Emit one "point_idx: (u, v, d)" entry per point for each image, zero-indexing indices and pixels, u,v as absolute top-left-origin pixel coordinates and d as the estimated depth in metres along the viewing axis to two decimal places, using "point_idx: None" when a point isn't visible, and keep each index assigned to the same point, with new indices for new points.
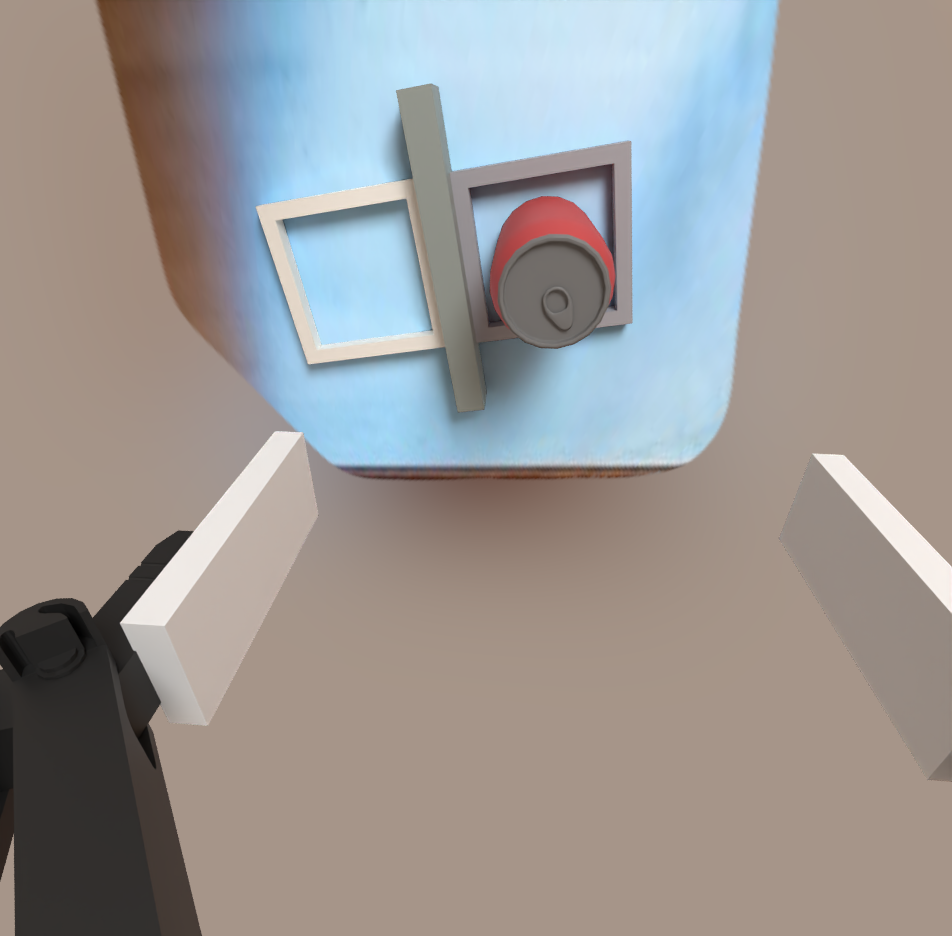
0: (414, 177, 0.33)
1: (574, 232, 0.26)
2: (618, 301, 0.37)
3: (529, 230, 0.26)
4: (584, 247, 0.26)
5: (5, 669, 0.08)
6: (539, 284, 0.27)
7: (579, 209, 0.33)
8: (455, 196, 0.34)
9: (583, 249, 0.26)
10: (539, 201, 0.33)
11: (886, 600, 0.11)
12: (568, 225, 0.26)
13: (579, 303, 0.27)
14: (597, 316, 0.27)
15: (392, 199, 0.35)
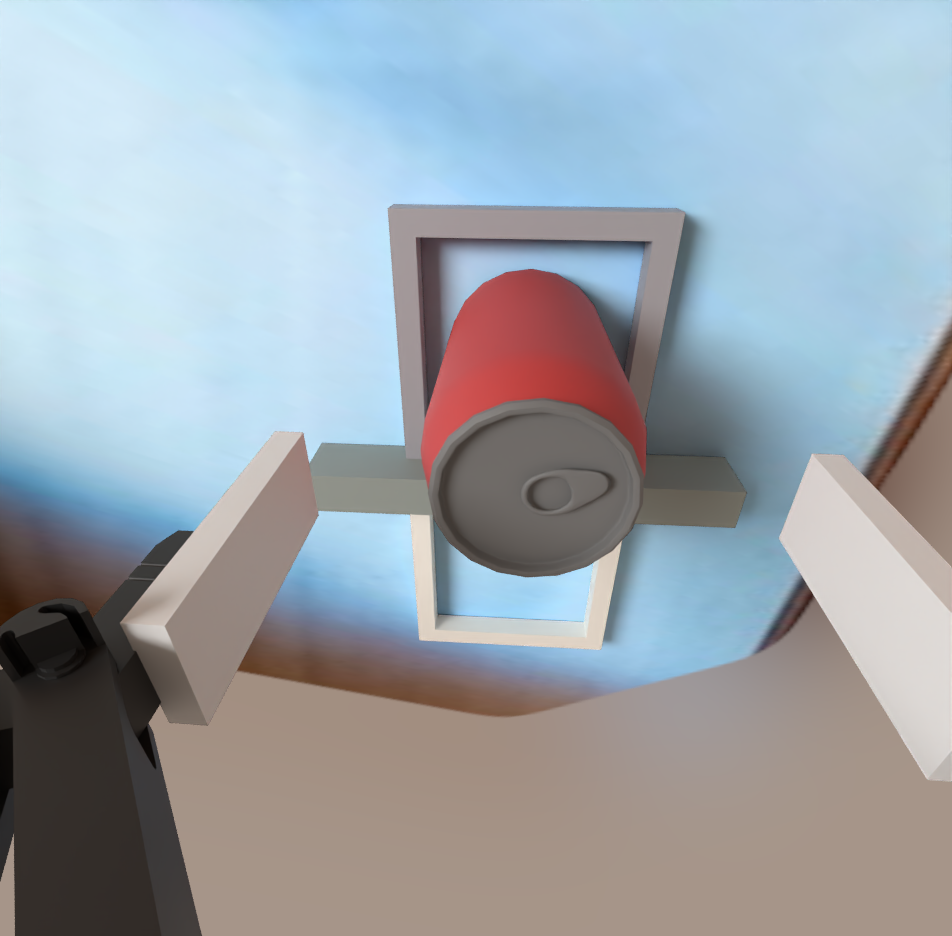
0: (399, 512, 0.26)
1: (437, 439, 0.14)
2: (636, 238, 0.20)
3: None
4: (456, 444, 0.13)
5: (5, 669, 0.08)
6: (513, 511, 0.15)
7: (468, 306, 0.21)
8: None
9: (460, 441, 0.13)
10: None
11: (886, 600, 0.11)
12: (429, 438, 0.15)
13: (564, 453, 0.14)
14: (597, 430, 0.13)
15: (428, 523, 0.28)
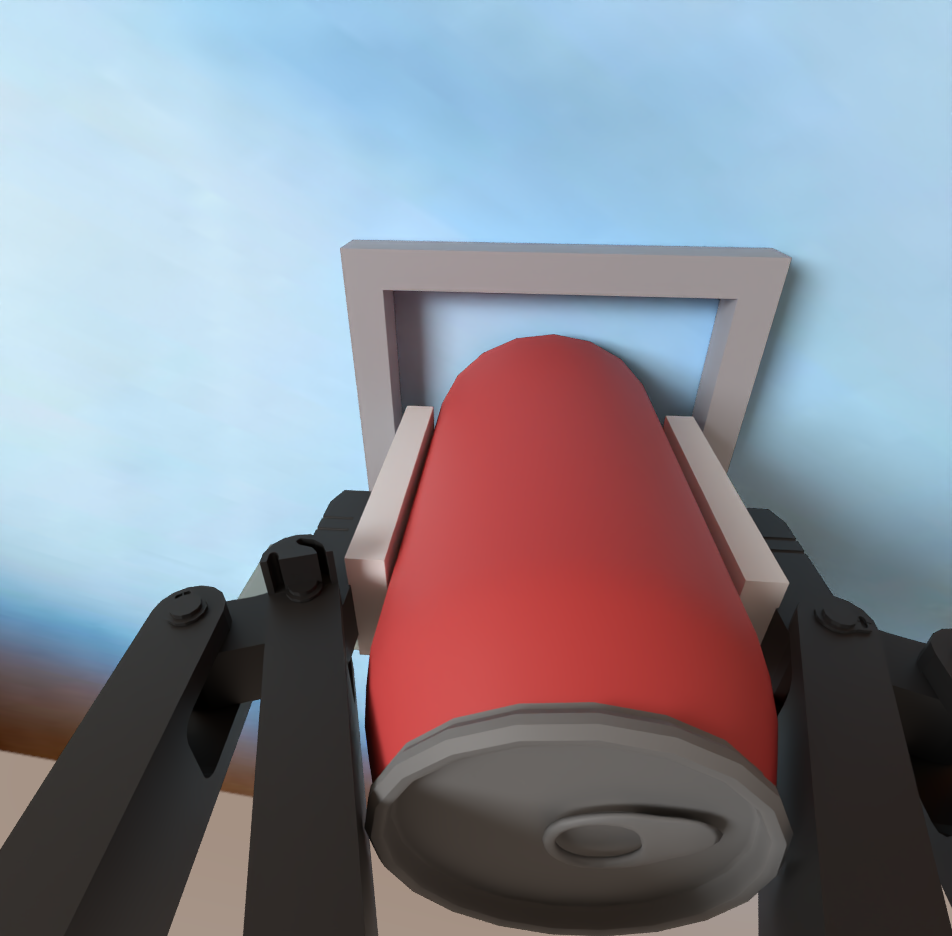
0: None
1: (383, 724, 0.07)
2: (712, 294, 0.14)
3: None
4: (413, 779, 0.06)
5: (266, 583, 0.09)
6: (527, 847, 0.08)
7: (460, 391, 0.14)
8: None
9: (423, 766, 0.07)
10: None
11: None
12: (372, 707, 0.08)
13: (630, 784, 0.07)
14: (708, 771, 0.06)
15: None
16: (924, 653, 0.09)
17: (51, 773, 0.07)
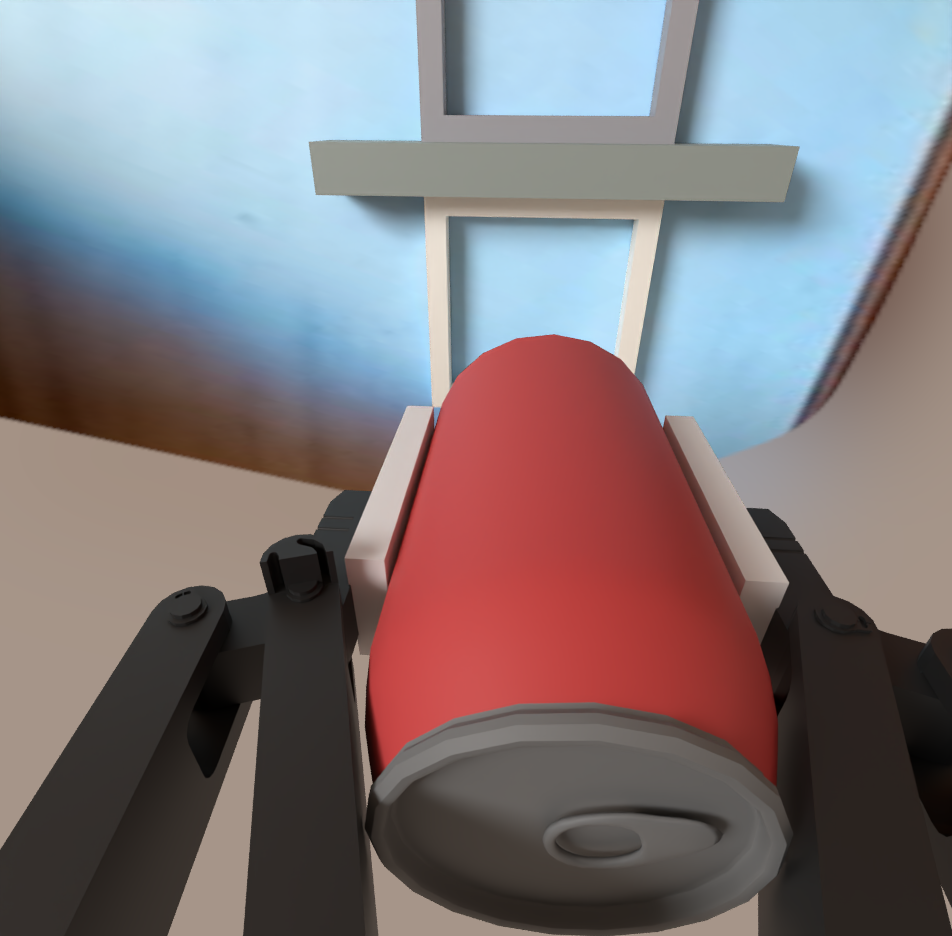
0: (413, 193, 0.24)
1: (383, 724, 0.07)
2: None
3: None
4: (413, 779, 0.06)
5: (266, 583, 0.09)
6: (528, 847, 0.08)
7: (460, 391, 0.14)
8: (452, 138, 0.24)
9: (423, 767, 0.07)
10: None
11: None
12: (372, 708, 0.08)
13: (630, 784, 0.07)
14: (708, 771, 0.06)
15: (444, 236, 0.26)
16: (924, 653, 0.09)
17: (52, 773, 0.07)
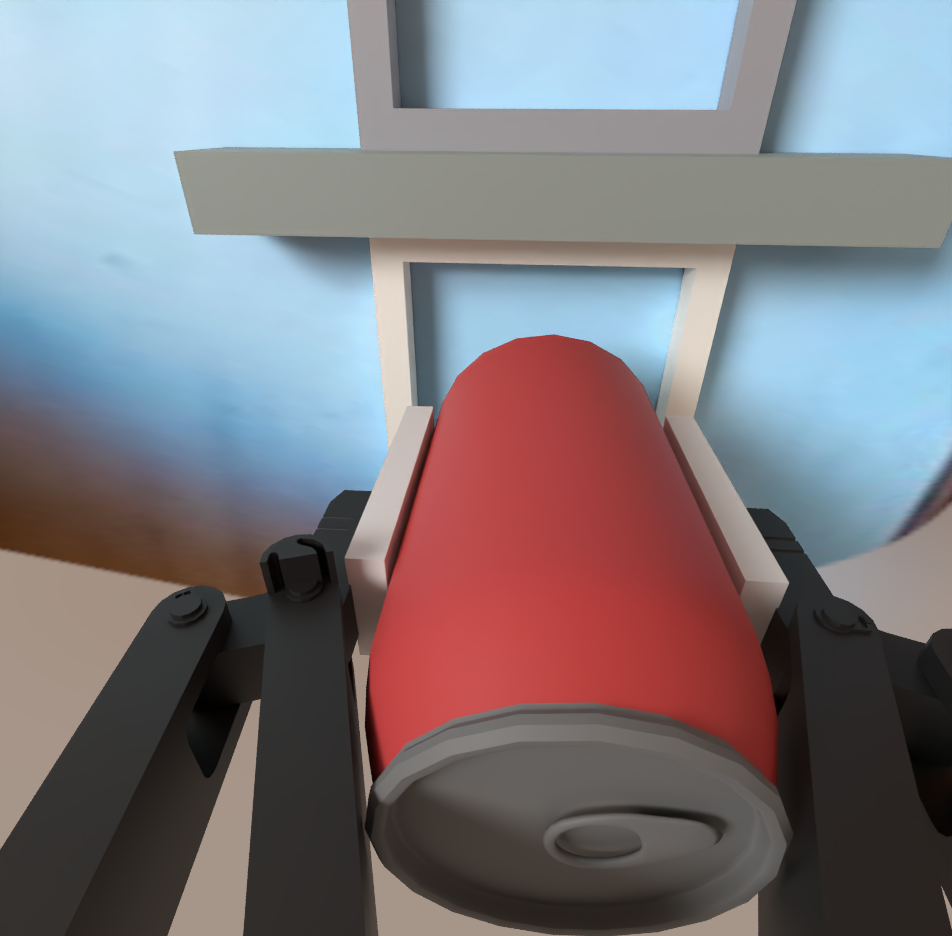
0: (346, 233, 0.15)
1: (384, 724, 0.07)
2: None
3: None
4: (413, 780, 0.06)
5: (266, 583, 0.09)
6: (528, 847, 0.08)
7: (460, 391, 0.14)
8: (408, 145, 0.15)
9: (424, 767, 0.07)
10: None
11: None
12: (372, 708, 0.08)
13: (630, 784, 0.07)
14: (709, 772, 0.06)
15: (402, 291, 0.17)
16: (924, 653, 0.09)
17: (52, 773, 0.07)
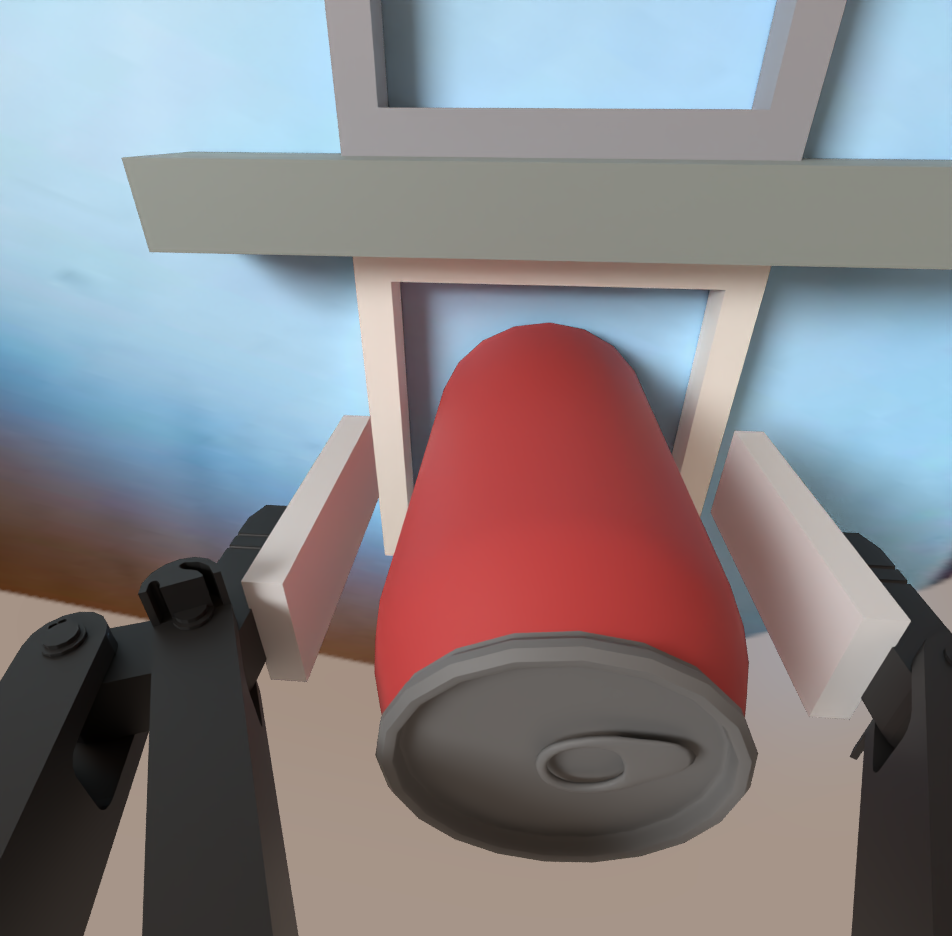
0: (324, 251, 0.13)
1: (393, 661, 0.08)
2: None
3: None
4: (421, 702, 0.07)
5: (148, 615, 0.09)
6: (522, 775, 0.09)
7: (461, 376, 0.15)
8: (395, 150, 0.13)
9: (429, 693, 0.07)
10: None
11: (783, 559, 0.12)
12: (382, 650, 0.09)
13: (613, 710, 0.08)
14: (680, 692, 0.07)
15: (390, 314, 0.15)
16: None
17: None
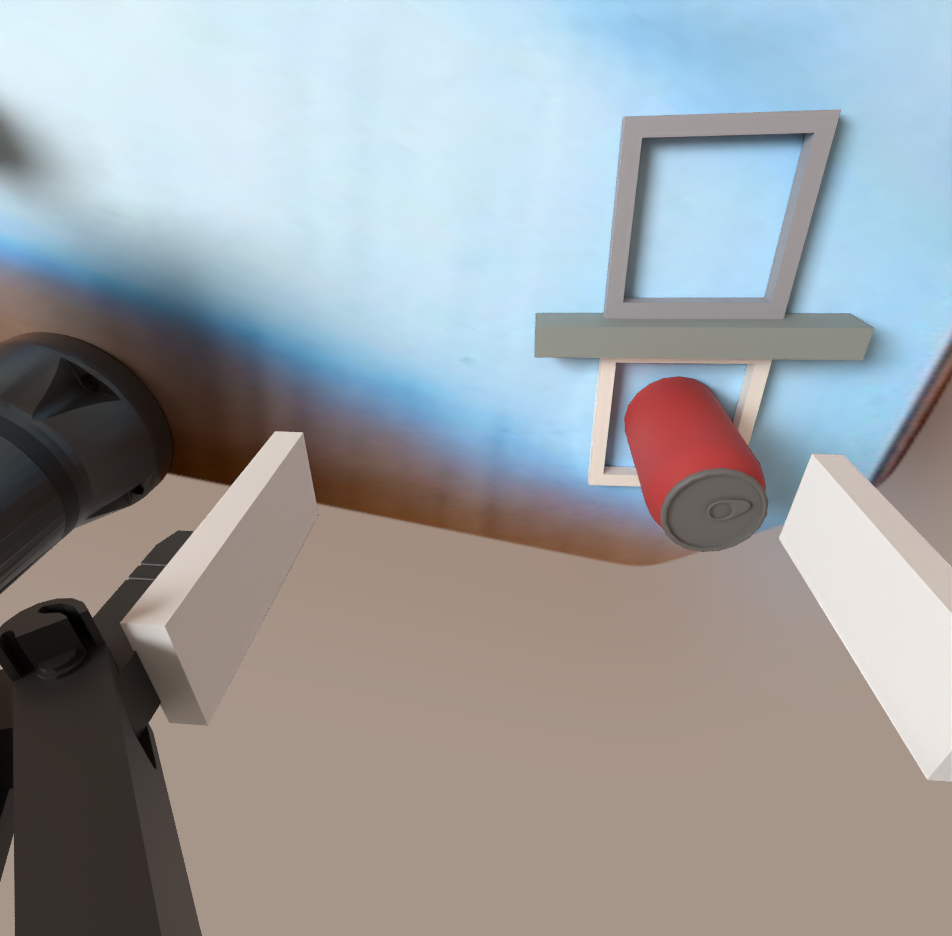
0: (602, 356, 0.35)
1: (665, 484, 0.30)
2: (802, 131, 0.29)
3: (652, 510, 0.31)
4: (680, 488, 0.29)
5: (5, 669, 0.08)
6: (700, 518, 0.30)
7: (644, 400, 0.37)
8: (627, 316, 0.35)
9: (682, 487, 0.29)
10: (628, 435, 0.38)
11: (886, 600, 0.11)
12: (658, 483, 0.30)
13: (729, 492, 0.29)
14: (748, 482, 0.29)
15: (613, 375, 0.37)
16: None
17: None
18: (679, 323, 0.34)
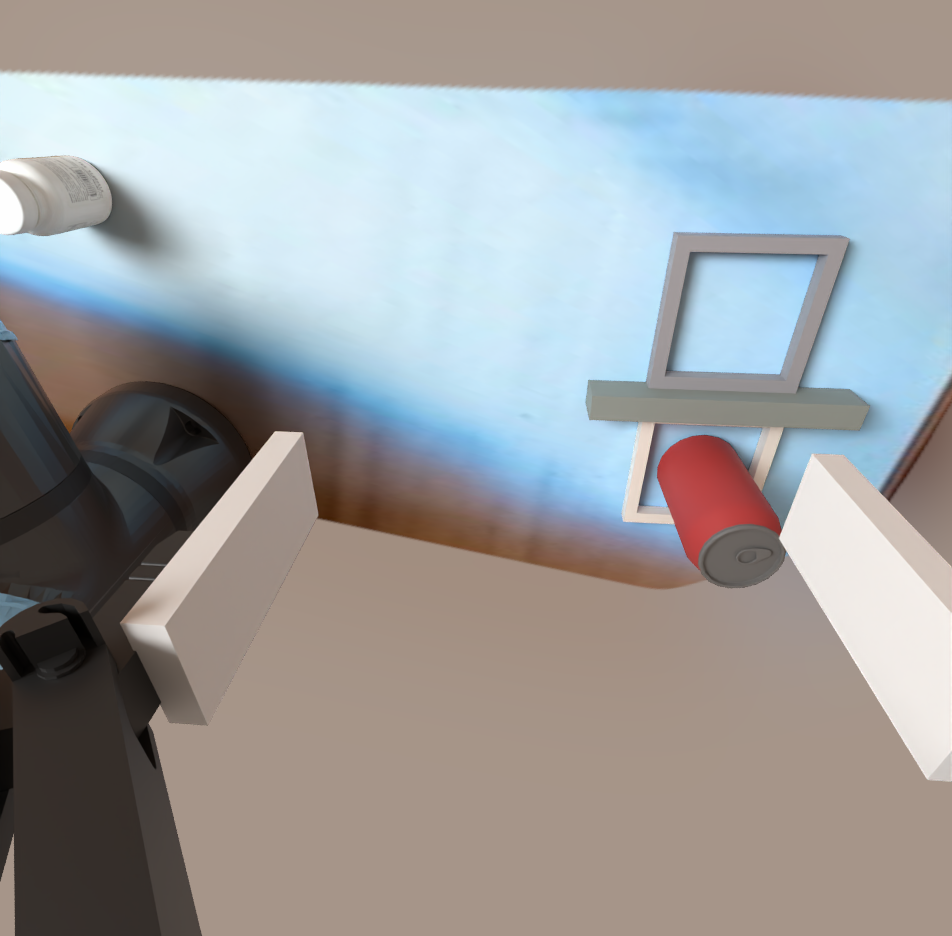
0: (646, 420, 0.42)
1: (703, 534, 0.37)
2: (819, 252, 0.36)
3: (690, 554, 0.38)
4: (717, 539, 0.36)
5: (5, 669, 0.08)
6: (730, 562, 0.37)
7: (678, 455, 0.44)
8: (667, 387, 0.42)
9: (718, 538, 0.36)
10: (663, 483, 0.45)
11: (886, 600, 0.11)
12: (697, 533, 0.37)
13: (755, 542, 0.36)
14: (771, 535, 0.36)
15: (651, 433, 0.44)
16: None
17: None
18: (711, 395, 0.41)
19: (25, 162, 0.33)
